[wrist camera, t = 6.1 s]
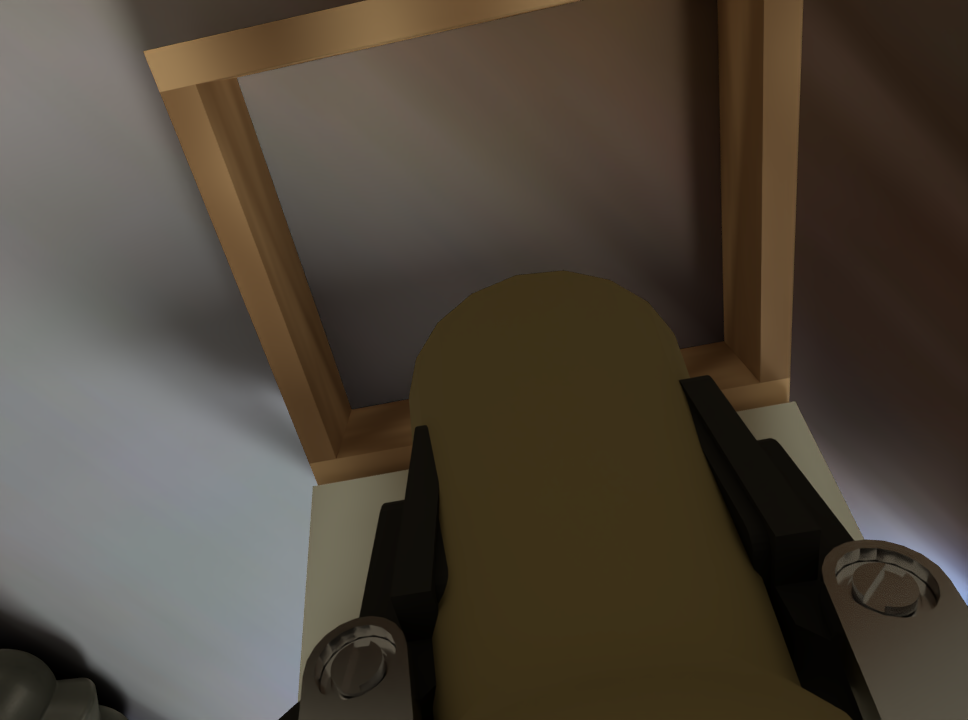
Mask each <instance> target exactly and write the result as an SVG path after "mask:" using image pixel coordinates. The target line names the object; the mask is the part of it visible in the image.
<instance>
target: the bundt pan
mask: <svg viewBox="0 0 968 720" xmlns="http://www.w3.org/2000/svg"><path fill="white" fill-rule="evenodd" d="M0 720H128V719H127V718H126V717H125V716H124V715H123V714H121V713H120V712H118V711H116V710H115V709H112V708H110V707H107V706H102V705H98V699H97V693H96V687H95V684H94V683H93V682H92V681H91V680H90V679H88V678H74V679H64V680H56V678H55V676H54V674H53V673H52V671H51V670H50V668H49V667H48V666H47V665H46V664H45V663H44V662H43V661H42V660H41V659H39V658H38V657H36V656H34V655H32V654H30V653H28V652H24V651H20V650H14V649H0Z"/></svg>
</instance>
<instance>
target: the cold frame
mask: <svg viewBox="0 0 968 720" xmlns="http://www.w3.org/2000/svg"><path fill="white" fill-rule="evenodd" d="M577 1H582V0H366V1H361V2H357V3H353V4H348V5H344V6H339V7H335V8H331V9H326V10H322V11H318V12H313V13H309V14H304V15H300V16H296V17H291V18H287V19H282V20H278V21H274V22H269V23H265V24H261V25H256V26H252V27H247V28H243V29H239V30H234V31H230V32H226V33H221V34H217V35H212V36H208V37H204V38H199V39H195V40H191V41H186V42H182V43H177V44H173V45H169V46H164V47H160V48H156V49H151V50H147V51H143V52H144V54H145V57H146V59H147V62H148V64H149V67H150V69H151V72H152V74H153V77H154V79H155V82H156V84H157V87H158V89H159V92H160V94H161V96H162V99H163V101H164V104H165V106H166V109H167V111H168V114H169V116H170V119H171V121H172V124H173V126H174V129H175V131H176V134H177V136H178V139H179V141H180V144H181V146H182V149H183V151H184V154H185V156H186V159H187V161H188V164H189V166H190V168H191V171H192V173H193V176H194V178H195V181H196V183H197V186H198V188H199V191H200V193H201V196H202V198H203V201H204V203H205V206H206V208H207V211H208V213H209V216H210V218H211V221H212V223H213V226H214V228H215V231H216V233H217V235H218V238H219V240H220V243H221V245H222V248H223V250H224V253H225V255H226V258H227V260H228V263H229V265H230V268H231V270H232V273H233V275H234V278H235V280H236V283H237V285H238V288H239V290H240V293H241V295H242V298H243V300H244V302H245V305H246V307H247V310H248V312H249V315H250V317H251V320H252V322H253V325H254V327H255V330H256V332H257V335H258V337H259V340H260V342H261V345H262V347H263V350H264V352H265V355H266V357H267V360H268V362H269V365H270V367H271V370H272V372H273V374H274V377H275V379H276V382H277V384H278V387H279V389H280V392H281V394H282V397H283V399H284V402H285V404H286V407H287V409H288V412H289V414H290V417H291V419H292V422H293V424H294V427H295V429H296V432H297V434H298V437H299V439H300V441H301V444H302V446H303V449H304V451H305V454H306V456H307V459H308V461H309V464H310V466H311V469H312V471H313V474H314V476H315V479H316V481H317V484H318V486H313V494H312V508H311V522H310V537H309V551H308V565H307V579H306V593H305V608H304V622H303V636H302V650H301V664H300V679H299V693H298V702H299V701H300V700H301V689H302V678H303V673H304V669H305V665H306V661H307V659H308V657H309V656H310V654H311V652H312V651H313V649H314V647H315V646H316V645H317V644H318V643H319V642H320V641H321V640H322V638H323V637H324V636H325V635H326V634H328V633H329V632H331V631H332V630H333V629H335V628H336V627H338V626H339V625H341V624H343V623H346V622H348V621H350V620H353V619H355V618H359V615H360V610H361V605H362V600H363V595H364V590H365V584H366V579H367V574H368V569H369V564H370V559H371V554H372V549H373V544H374V539H375V534H376V529H377V523H378V518H379V513H380V510H381V506H382V505H383V504H384V503H388V502H393V501H399V500H404V499H405V492H406V485H407V478H408V472H409V465H410V458H411V451H412V432H411V419H410V406H409V399H407V400H401V401H396V402H391V403H385V404H380V405H374V406H369V407H363V408H358V409H351V406H350V404H349V401H348V398H347V395H346V392H345V389H344V386H343V383H342V380H341V378H340V375H339V372H338V369H337V366H336V363H335V360H334V357H333V355H332V352H331V349H330V346H329V343H328V340H327V337H326V334H325V331H324V329H323V326H322V323H321V320H320V317H319V314H318V311H317V308H316V306H315V303H314V300H313V297H312V294H311V291H310V288H309V285H308V282H307V280H306V277H305V274H304V271H303V268H302V265H301V262H300V259H299V257H298V254H297V251H296V248H295V245H294V242H293V239H292V236H291V233H290V231H289V228H288V225H287V222H286V219H285V216H284V213H283V210H282V208H281V205H280V202H279V199H278V196H277V193H276V190H275V187H274V185H273V182H272V179H271V176H270V173H269V170H268V167H267V164H266V161H265V159H264V156H263V153H262V150H261V147H260V144H259V141H258V138H257V136H256V133H255V130H254V127H253V124H252V121H251V118H250V115H249V112H248V110H247V107H246V104H245V101H244V98H243V95H242V92H241V89H240V87H239V84H238V81H237V77H241V76H246V75H250V74H255V73H259V72H264V71H268V70H273V69H277V68H282V67H286V66H291V65H295V64H300V63H304V62H308V61H313V60H317V59H322V58H326V57H331V56H335V55H340V54H344V53H349V52H353V51H358V50H362V49H367V48H371V47H376V46H380V45H385V44H389V43H394V42H398V41H403V40H407V39H412V38H416V37H421V36H425V35H429V34H434V33H438V32H443V31H447V30H452V29H456V28H461V27H465V26H470V25H474V24H479V23H483V22H488V21H492V20H497V19H501V18H506V17H510V16H515V15H519V14H524V13H528V12H533V11H537V10H542V9H546V8H550V7H555V6H559V5H564V4H568V3H573V2H577ZM717 4H718V54H719V104H720V154H721V203H722V253H723V303H724V341H722V342H717V343H711V344H706V345H700V346H695V347H689V348H684V349H680V351H681V354H682V357H683V359H684V362H685V365H686V368H687V370H688V373H689V376H690V378H693V377H698V376H704V375H710V376H711V377H712V379H713V380H714V381H715V383H716V384H717V386H718V387H719V388H720V390H721V391H722V393H723V394H724V395H725V397H726V398H727V400H728V401H729V402H730V404H731V405H732V407H733V408H734V409H735V411H736V412H737V413H738V415H739V416H740V418H741V419H742V420H743V422H744V423H745V425H746V426H747V427H748V429H749V430H750V432H751V433H752V434H753V436H754V437H755V439H756V440H761V439H767V438H773V439H776V440H777V441H778V442H779V443H780V444H781V446H782V447H783V448H784V450H785V451H786V452H787V454H788V455H789V456H790V457H791V459H792V460H793V461H794V463H795V464H796V465H797V467H798V468H799V469H800V470H801V472H802V473H803V474H804V476H805V477H806V478H807V479H808V481H809V482H810V483H811V485H812V486H813V487H814V489H815V490H816V491H817V492H818V494H819V495H820V496H821V498H822V499H823V500H824V502H825V503H826V504H827V505H828V507H829V508H830V509H831V511H832V512H833V513H834V515H835V516H836V517H837V518H838V520H839V521H840V522H841V524H842V525H843V526H844V528H845V529H846V530H847V531H848V533H849V534H850V535H851V537H852V538H853V539H854V541H857V540H864V538H863V536H862V534H861V532H860V530H859V528H858V526H857V524H856V522H855V520H854V518H853V516H852V514H851V512H850V510H849V508H848V506H847V504H846V502H845V500H844V498H843V496H842V494H841V492H840V490H839V488H838V486H837V484H836V482H835V480H834V478H833V476H832V474H831V472H830V470H829V468H828V466H827V464H826V462H825V460H824V458H823V456H822V454H821V452H820V450H819V448H818V446H817V444H816V442H815V440H814V438H813V436H812V434H811V432H810V430H809V428H808V426H807V424H806V422H805V420H804V418H803V416H802V414H801V412H800V410H799V408H798V406H797V404H796V402H795V401H794V402H789V391H790V363H791V334H792V306H793V277H794V249H795V220H796V192H797V163H798V135H799V107H800V78H801V50H802V21H803V0H717ZM397 471H398V472H397ZM380 474H381V475H380ZM363 477H364V478H363ZM346 480H347V481H346ZM329 483H330V484H329Z"/></svg>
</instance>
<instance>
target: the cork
mask: <svg viewBox="0 0 968 720" xmlns="http://www.w3.org/2000/svg"><path fill="white" fill-rule="evenodd" d="M687 378H690V376H689V373H688V370H687V368H686V365H685V362H684V359H683V357H682V354H681V351H680V348H679V345H678V343H677V340H676V337H675V334H674V333H673V332H672V330H671V329H670V328H669V327H668V326H667V324H666V323H665V322H664V321H663V320H662V318H661V317H660V316H659V315H658V313H657V312H656V311H655V310H654V309H653V307H652V306H651V305H650V304H649V303H648V302H647V301H645V300H644V299H642V298H640V297H638V296H637V295H635V294H633V293H632V292H630V291H628V290H626V289H625V288H623V287H621V286H620V285H618V284H616V283H614V282H613V281H611V280H608V279H603V278H598V277H593V276H589V275H584V274H579V273H574V272H569V271H564V270H563V271H553V272H543V273H533V274H523V275H515V276H513V277H511V278H508V279H506V280H503V281H501V282H499V283H496V284H494V285H492V286H489V287H487V288H484V289H482V290H480V291H477V292H475V293H472V294H471V295H470V296H469V297H468V298H466V299H465V300H464V301H463V302H462V303H460V304H459V305H458V306H457V307H456V308H455V309H453V310H452V311H451V312H450V313H449V314H448V315H446V316H445V317H444V318H443V319H442V320H440V321H439V322H438V323H437V325H436V326H435V328H434V330H433V331H432V333H431V335H430V336H429V338H428V340H427V341H426V343H425V345H424V346H423V348H422V350H421V352H420V353H419V355H418V357H417V358H416V362H415V367H414V372H413V378H412V383H411V388H410V394H409V406H410V419H411V432H412V445H413V438H414V431H415V427H417V426H422V425H427V427H428V430H429V435H430V440H431V445H432V450H433V455H434V460H435V465H436V470H437V475H438V480H439V515H438V517H439V522H440V528H441V533H442V539H443V544H444V550H445V555H446V561H447V566H448V580H447V585H446V588H445V591H444V594H443V596H442V598H441V600H440V602H439V603H438V617H437V621H436V624H435V628H434V632H433V636H432V645H433V655H434V666H435V676H436V689H435V695H434V701H433V719H434V720H852V719H851V718H850V717H849V716H848V715H847V714H846V713H845V712H844V711H842V710H840V709H839V708H837V707H835V706H833V705H832V704H830V703H828V702H826V701H825V700H823V699H821V698H819V697H818V696H816V695H814V694H812V693H811V692H809V691H807V690H805V689H804V688H802V687H801V685H800V682H799V679H798V676H797V674H796V671H795V668H794V665H793V663H792V660H791V657H790V654H789V651H788V649H787V646H786V643H785V640H784V638H783V635H782V632H781V629H780V626H779V624H778V621H777V618H776V615H775V612H774V610H773V607H772V604H771V601H770V599H769V596H768V593H767V590H766V587H765V585H764V582H763V579H762V577H761V576H760V575H759V574H758V573H757V572H756V571H755V570H754V568H753V566H752V564H751V561H750V559H749V557H748V554H747V552H746V550H745V548H744V545H743V543H742V541H741V538H740V536H739V534H738V531H737V529H736V527H735V524H734V522H733V520H732V517H731V515H730V513H729V510H728V508H727V506H726V504H725V501H724V499H723V497H722V494H721V492H720V490H719V487H718V485H717V483H716V480H715V478H714V476H713V473H712V471H711V469H710V466H709V464H708V462H707V460H706V457H705V455H704V453H703V450H702V448H701V445H700V442H699V439H698V435H697V432H696V428H695V425H694V422H693V418H692V415H691V412H690V408H689V405H688V402H687V398H686V395H685V393H684V391H683V389H682V386H681V384H680V382H679V380H681V379H687Z"/></svg>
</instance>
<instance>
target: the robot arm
mask: <svg viewBox="0 0 968 720" xmlns="http://www.w3.org/2000/svg"><path fill="white" fill-rule="evenodd" d="M679 382H680V384H681V386H682V389H683V391H684V393H685V395H686V398H687V402H688V405H689V408H690V412H691V415H692V418H693V422H694V425H695V428H696V432H697V435H698V439H699V442H700V445H701V448H702V450H703V453H704V455H705V457H706V460H707V462H708V464H709V466H710V469H711V471H712V473H713V476H714V478H715V480H716V483H717V485H718V487H719V490H720V492H721V494H722V497H723V499H724V501H725V504H726V506H727V508H728V510H729V513H730V515H731V517H732V520H733V522H734V524H735V527H736V529H737V531H738V534H739V536H740V538H741V541H742V543H743V545H744V548H745V550H746V552H747V554H748V557H749V559H750V561H751V564H752V566H753V568H754V570H755V571H756V572H757V573H758V574H759V575H760V576H761V577H762V579H763V582H764V585H765V587H766V590H767V593H768V596H769V599H770V601H771V604H772V607H773V610H774V612H775V615H776V618H777V621H778V624H779V626H780V629H781V632H782V635H783V638H784V640H785V643H786V646H787V649H788V651H789V654H790V657H791V660H792V663H793V665H794V668H795V671H796V674H797V676H798V679H799V682H800V685H801V687H802V688H804V689H805V690H807V691H809V692H811V693H812V694H814V695H816V696H818V697H819V698H821V699H823V700H825V701H826V702H828V703H830V704H832V705H833V706H835V707H837V708H839V709H840V710H842V711H844V712H845V713H846V714H847V715H848V716H849V717H850V718H851V719H852V720H968V606H967V605H966V603H965V602H964V600H963V599H962V597H961V595H960V594H959V592H958V591H957V589H956V588H955V586H954V585H953V583H952V581H951V580H950V579H949V577H948V576H947V575H946V574H945V573H944V572H943V571H942V569H941V568H940V567H939V566H938V565H936V564H935V563H934V562H932V561H931V560H929V559H928V558H927V557H925V556H924V555H922V554H920V553H918V552H916V551H914V550H911V549H909V548H907V547H905V546H902V545H898V544H894V543H890V542H886V541H879V540H857V541H854V539H853V538H852V537H851V535H850V534H849V533H848V531H847V530H846V529H845V528H844V526H843V525H842V524H841V522H840V521H839V520H838V518H837V517H836V516H835V515H834V513H833V512H832V511H831V509H830V508H829V507H828V505H827V504H826V503H825V502H824V500H823V499H822V498H821V496H820V495H819V494H818V492H817V491H816V490H815V489H814V487H813V486H812V485H811V483H810V482H809V481H808V479H807V478H806V477H805V476H804V474H803V473H802V472H801V470H800V469H799V468H798V467H797V465H796V464H795V463H794V461H793V460H792V459H791V457H790V456H789V455H788V454H787V452H786V451H785V450H784V448H783V447H782V446H781V444H780V443H779V442H778V441H777V440H776V439H773V438H767V439H761V440H756V439H755V437H754V436H753V434H752V433H751V432H750V430H749V429H748V427H747V426H746V425H745V423H744V422H743V420H742V419H741V418H740V416H739V415H738V413H737V412H736V411H735V409H734V408H733V407H732V405H731V404H730V402H729V401H728V400H727V398H726V397H725V395H724V394H723V393H722V391H721V390H720V388H719V387H718V386H717V384H716V383H715V381H714V380H713V379H712V377H711V376H710V375H704V376H698V377H693V378H687V379H681V380H679ZM438 515H439V480H438V475H437V470H436V465H435V460H434V455H433V450H432V445H431V440H430V435H429V430H428V427H427V425H422V426H417V427H415V431H414V438H413V445H412V451H411V458H410V465H409V472H408V478H407V485H406V492H405V499H404V500H399V501H393V502H388V503H384V504H383V505H382V506H381V510H380V513H379V518H378V523H377V529H376V534H375V539H374V544H373V549H372V554H371V559H370V564H369V569H368V574H367V579H366V584H365V590H364V595H363V600H362V605H361V610H360V615H359V618H355V619H353V620H350V621H348V622H346V623H343V624H341V625H339V626H338V627H336V628H335V629H333V630H332V631H331V632H329V633H328V634H326V635H325V636H324V637H323V638H322V640H321V641H320V642H319V643H318V644H317V645H316V646H315V647H314V649H313V651H312V652H311V654H310V656H309V657H308V659H307V661H306V665H305V669H304V673H303V678H302V689H301V700H300V701H299V702H298V703H296V704H295V705H294V706H293V707H292V708H291V709H290V710H289V711H288V712H286V713H285V714H284V715H283V716H282V717H281V718H280V719H279V720H434V719H433V701H434V695H435V689H436V676H435V666H434V655H433V645H432V636H433V632H434V628H435V624H436V621H437V617H438V603H439V602H440V600H441V598H442V596H443V594H444V591H445V588H446V585H447V580H448V566H447V561H446V555H445V550H444V544H443V539H442V533H441V528H440V522H439V517H438Z"/></svg>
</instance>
